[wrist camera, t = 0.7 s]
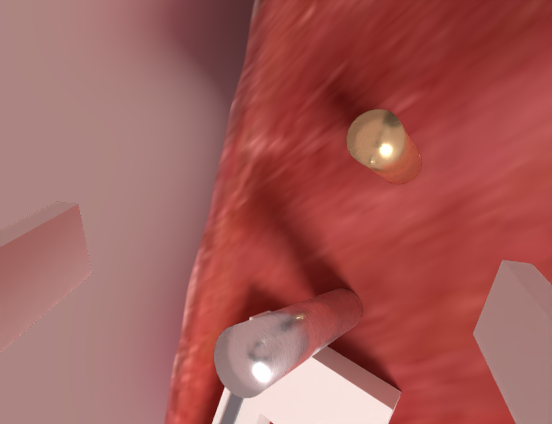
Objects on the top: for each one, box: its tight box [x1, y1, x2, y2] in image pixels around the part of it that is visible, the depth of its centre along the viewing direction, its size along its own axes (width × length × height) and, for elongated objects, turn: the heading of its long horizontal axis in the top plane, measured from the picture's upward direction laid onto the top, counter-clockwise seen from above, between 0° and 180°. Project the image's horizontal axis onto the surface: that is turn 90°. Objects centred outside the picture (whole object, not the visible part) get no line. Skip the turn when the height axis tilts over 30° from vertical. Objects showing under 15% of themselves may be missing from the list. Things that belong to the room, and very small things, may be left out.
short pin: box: [347, 109, 422, 184], centre depth 26 cm, size 4×4×9 cm
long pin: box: [214, 288, 363, 398], centre depth 25 cm, size 4×4×16 cm
